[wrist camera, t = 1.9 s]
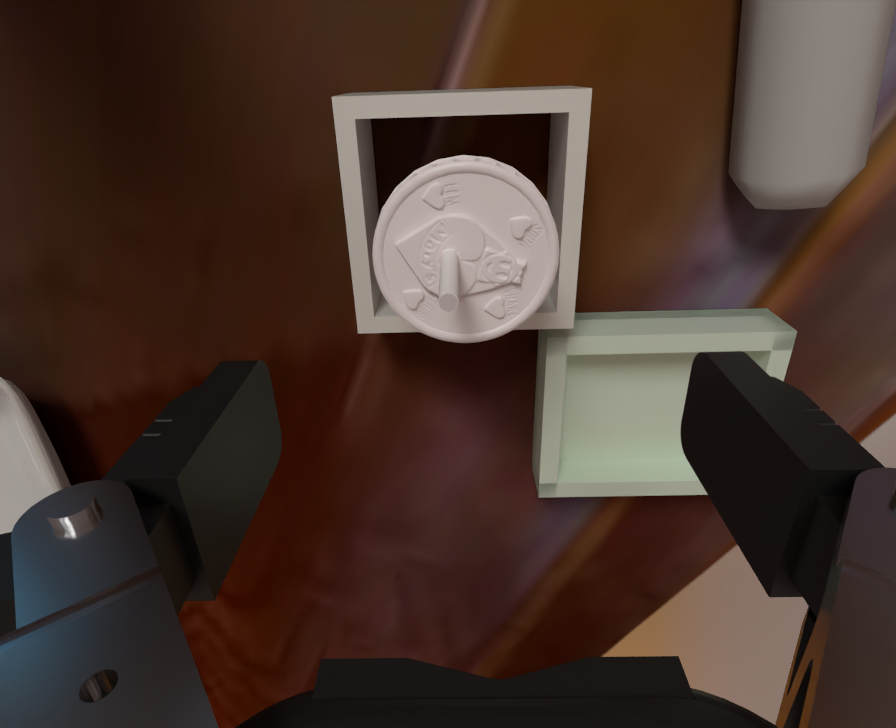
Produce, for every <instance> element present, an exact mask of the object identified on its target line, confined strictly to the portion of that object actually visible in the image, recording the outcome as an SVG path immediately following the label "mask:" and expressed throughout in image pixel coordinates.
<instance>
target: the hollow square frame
mask: <svg viewBox="0 0 896 728" xmlns="http://www.w3.org/2000/svg"><path fill="white" fill-rule="evenodd" d="M591 97H592V88H586V87H577V86H546V87H515V88H485V89H454V90H424V91H393V92H363V93H348V94H343V95H338V96H333V97H332V104H333V113H334V122H335V131H336V140H337V149H338V158H339V167H340V176H341V184H342V193H343V202H344V211H345V220H346V229H347V238H348V247H349V256H350V265H351V274H352V283H353V291H354V300H355V309H356V318H357V327H358V333H399V332H419V331H418V330H416V329H414V328H413V327H411V326H410V325H409V324H407V323H406V322H405V321H404V320H402V319H401V318H400V317H399V316H398V315H397V314H396V313H395V312H394V310H393V309H392V308H391V307H390V305H389V304H388V302H387V301H386V299H385V298H384V296H383V294H382V292H381V290H380V287H379V285H378V282H377V279H376V276H375V272H374V266H373V257H372V252H373V239H374V234H375V229H376V226H377V223H378V219H379V208H378V196H377V184H376V173H375V161H374V149H373V137H372V125H371V119H373V118H404V117H436V116H467V115H499V114H530V113H551V120H550V141H549V161H548V182H547V203H548V206H549V208H550V211H551V214H552V216H553V219H554V222H555V225H556V229H557V233H558V240H559V262H558V268H557V272H556V276H555V279H554V282H553V285H552V287H551V289H550V291H549V293H548V295H547V297H546V298H545V300H544V302H543V303H542V304H541V306H540V307H539V308H538V310H537V311H536V312H535V313H534V314H533V315H532V316H531V317H530V318H529V319H528V320H526V321H525V322H524V323H523V324H521V325H520V326H519V327H517V328H515V329H514V330H527V329H569V328H573V327H574V314H575V301H576V289H577V276H578V263H579V250H580V237H581V225H582V212H583V199H584V186H585V174H586V161H587V148H588V135H589V123H590V110H591Z"/></svg>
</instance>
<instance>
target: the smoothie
mask: <svg viewBox="0 0 896 728" xmlns="http://www.w3.org/2000/svg"><path fill="white" fill-rule="evenodd" d="M372 257H373V266H374V272H375V276H376V279H377V282H378V285H379V287H380V290H381V292H382V294H383V296H384V298H385V299H386V301H387V302H388V304H389V305H390V307H391V308H392V309H393V310H394V312H395V313H396V314H397V315H398V316H399V317H400V318H401V319H402V320H404V321H405V322H406V323H407V324H409V325H410V326H411V327H413V328H414V329H416V330H418V331H419V332H421V333H423V334H426V335H428V336H430V337H433V338H436V339H439V340H443V341H448V342H455V343H474V342H482V341H487V340H490V339H494V338H497V337H499V336H502V335H504V334H506V333H508V332H510V331H512V330H514V329H515V328H517V327H519V326H520V325H521V324H523V323H524V322H525V321H526V320H528V319H529V318H530V317H531V316H532V315H533V314H534V313H535V312H536V311H537V310H538V308H539V307H540V306H541V304H542V303H543V302H544V300H545V298H546V297H547V295H548V293H549V291H550V289H551V287H552V285H553V282H554V279H555V276H556V272H557V268H558V262H559V240H558V233H557V229H556V225H555V222H554V219H553V216H552V214H551V211H550V208H549V206H548V203H547V201H546V200H545V199H544V197H543V196H542V194H541V193H540V192H539V190H538V189H537V188H536V186H535V185H534V184H533V182H532V181H530V180H529V179H528V178H526V177H525V176H524V175H522V174H521V173H520V172H519V171H517V170H516V169H515V168H513V167H512V166H509V165H507V164H504V163H502V162H499V161H497V160H494V159H492V158H489V157H480V156H470V155H459V156H454V157H448V158H443V159H437V160H435V161H433V162H431V163H429V164H427V165H425V166H423V167H421V168H419V169H417V170H415V171H413V172H412V173H411V174H410V175H409V176H408V177H407V178H406V179H404V180H403V181H402V182H401V183H400V184H399V185H398V186H396V187H395V189H394V190H393V192H392V194H391V195H390V197H389V198H388V200H387V201H386V203H385V204H384V206H383V207H382V210H381V213H380V216H379V219H378V223H377V226H376V229H375V234H374V239H373V252H372Z"/></svg>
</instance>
